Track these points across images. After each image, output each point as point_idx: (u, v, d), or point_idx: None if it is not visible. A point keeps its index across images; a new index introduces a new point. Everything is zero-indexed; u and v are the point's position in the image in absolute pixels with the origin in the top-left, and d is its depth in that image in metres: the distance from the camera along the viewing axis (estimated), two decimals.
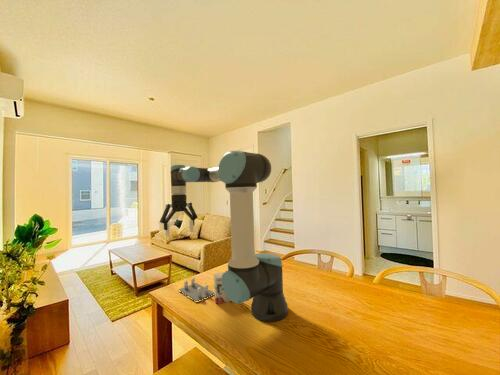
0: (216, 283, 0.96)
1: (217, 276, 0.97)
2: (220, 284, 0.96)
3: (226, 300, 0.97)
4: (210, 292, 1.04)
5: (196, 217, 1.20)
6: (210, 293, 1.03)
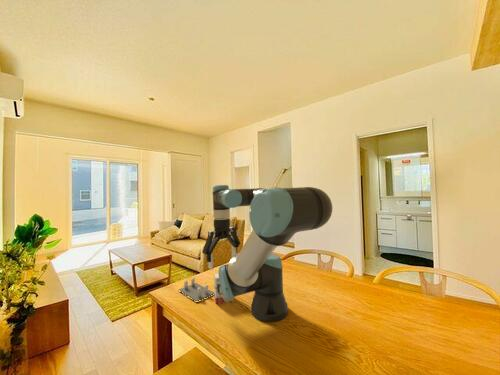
0: (216, 283, 0.96)
1: (217, 276, 0.97)
2: None
3: (226, 300, 0.97)
4: (210, 292, 1.04)
5: (239, 243, 1.05)
6: (210, 293, 1.03)
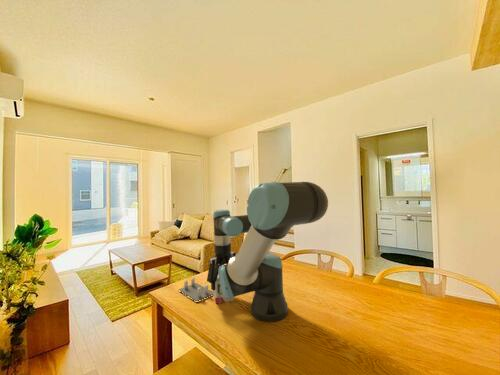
0: None
1: None
2: None
3: (226, 300, 0.97)
4: (210, 292, 1.04)
5: None
6: (210, 293, 1.03)
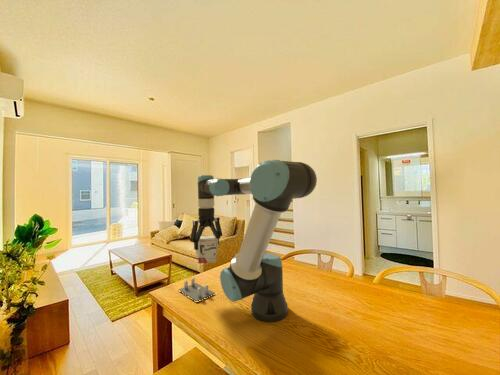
0: None
1: (200, 238, 1.02)
2: (202, 245, 1.01)
3: (208, 260, 1.01)
4: (210, 292, 1.04)
5: (221, 235, 1.08)
6: (210, 293, 1.03)
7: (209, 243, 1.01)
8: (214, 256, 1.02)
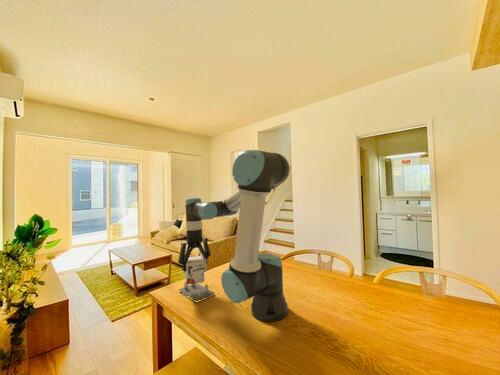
0: None
1: (188, 259, 1.05)
2: (191, 266, 1.04)
3: (197, 281, 1.04)
4: (210, 292, 1.04)
5: (209, 255, 1.11)
6: (210, 293, 1.03)
7: (197, 264, 1.04)
8: (202, 277, 1.05)
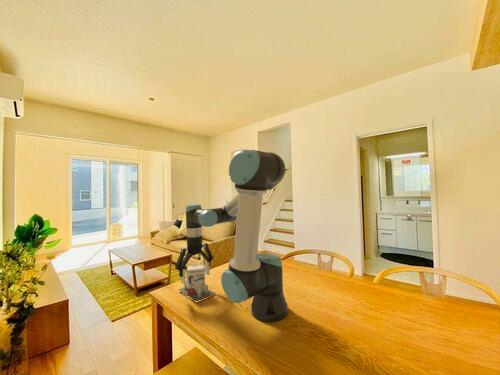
0: (188, 275, 1.03)
1: (189, 268, 1.05)
2: (191, 276, 1.04)
3: (197, 291, 1.04)
4: (210, 292, 1.04)
5: (212, 258, 1.12)
6: (210, 293, 1.03)
7: (198, 274, 1.04)
8: (202, 286, 1.05)
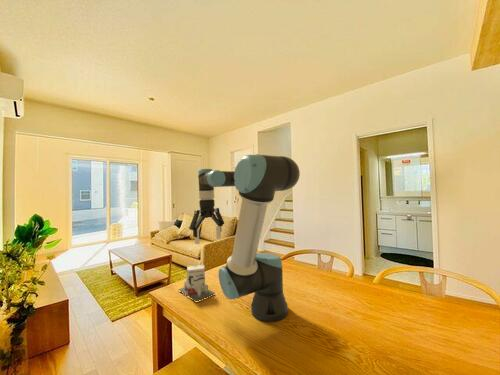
0: (188, 275, 1.03)
1: (189, 268, 1.05)
2: (191, 276, 1.04)
3: (197, 291, 1.04)
4: (210, 292, 1.04)
5: (223, 223, 1.15)
6: (210, 293, 1.03)
7: (198, 274, 1.04)
8: (202, 286, 1.05)
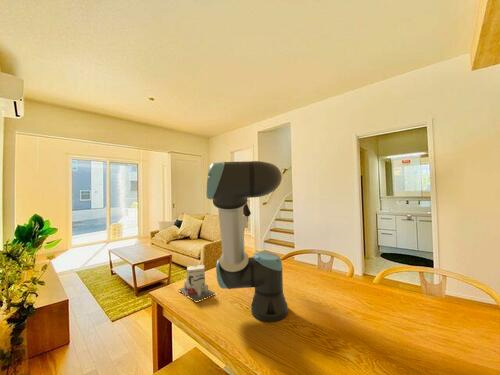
0: (188, 275, 1.03)
1: (189, 268, 1.05)
2: (191, 276, 1.04)
3: (197, 291, 1.04)
4: (210, 292, 1.04)
5: (250, 213, 1.23)
6: (210, 293, 1.03)
7: (198, 274, 1.04)
8: (202, 286, 1.05)
